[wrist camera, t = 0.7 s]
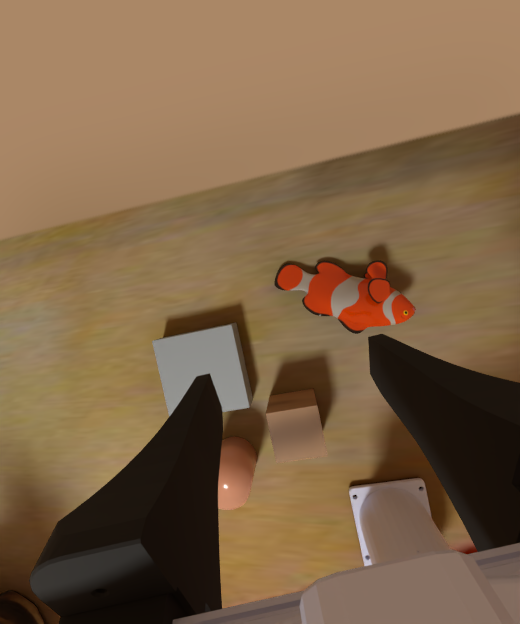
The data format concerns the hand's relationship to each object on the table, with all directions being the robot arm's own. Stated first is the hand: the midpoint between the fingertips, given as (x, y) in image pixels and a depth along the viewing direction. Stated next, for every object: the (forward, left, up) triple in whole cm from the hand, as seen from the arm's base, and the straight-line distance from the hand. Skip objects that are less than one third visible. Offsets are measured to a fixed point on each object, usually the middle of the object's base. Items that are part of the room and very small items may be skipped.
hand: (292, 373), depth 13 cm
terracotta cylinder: (-14, +10, -19) cm, 25 cm away
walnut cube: (-10, +2, -19) cm, 21 cm away
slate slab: (-3, +11, -19) cm, 22 cm away
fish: (+3, -6, -20) cm, 21 cm away
